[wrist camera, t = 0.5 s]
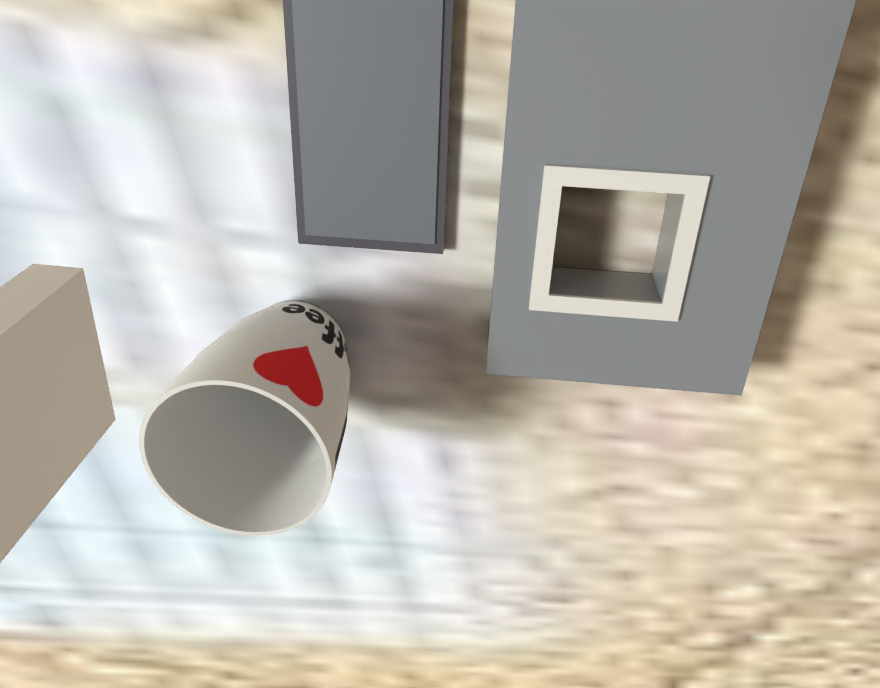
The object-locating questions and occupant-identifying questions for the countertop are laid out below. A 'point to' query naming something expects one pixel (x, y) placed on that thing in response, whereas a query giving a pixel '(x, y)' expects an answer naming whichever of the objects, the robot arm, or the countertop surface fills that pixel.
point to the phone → (370, 120)
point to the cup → (254, 423)
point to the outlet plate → (656, 180)
